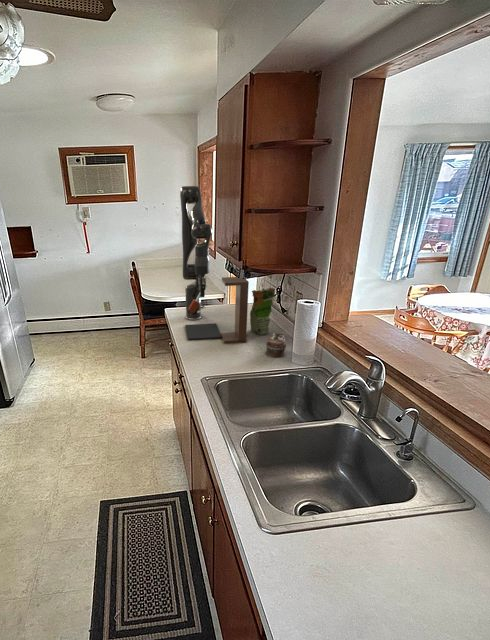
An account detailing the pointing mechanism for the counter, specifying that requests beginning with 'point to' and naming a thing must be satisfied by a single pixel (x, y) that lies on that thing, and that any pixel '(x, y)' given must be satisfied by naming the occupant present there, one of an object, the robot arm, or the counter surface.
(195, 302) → the orange elongated piece
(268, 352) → the cupcake
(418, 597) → the counter surface
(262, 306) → the pouch
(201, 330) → the mat
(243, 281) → the shelf
